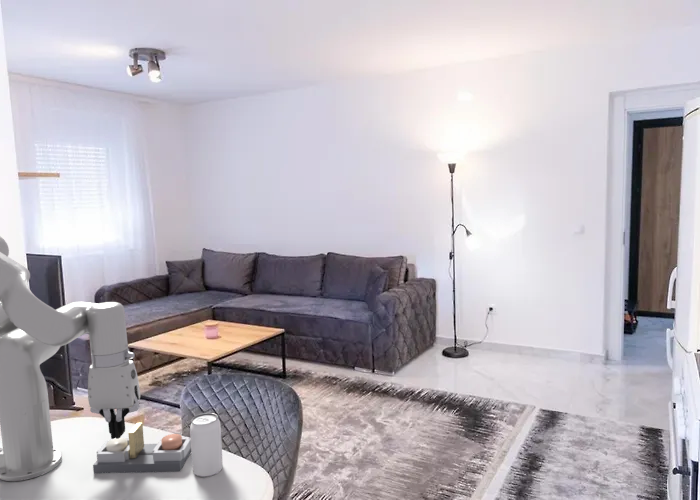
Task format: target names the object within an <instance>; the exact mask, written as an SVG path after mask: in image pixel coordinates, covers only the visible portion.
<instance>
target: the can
mask: <svg viewBox="0 0 700 500" xmlns="http://www.w3.org/2000/svg"><path fill="white" fill-rule="evenodd" d="M221 427H222V425H221V421H220V420H219V416H218V415H217V414H216V413H213V412H204V413H199V414H197V415H195V416H194V417H192V419H191V424H190V428H189V431H190V433H189V434H190V436H189V437H190V439H191V453H190V454H191V466H192V472H193V474H194V475H195V476H196V477H199V478H208V477H212V476H215V475H217V474H219V473H220V472H221V470H222V469H223V465H224V464H223V444H222V443H223V442H222V433H221V432H222V428H221Z"/></svg>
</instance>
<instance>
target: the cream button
mask: <svg viewBox="0 0 700 500" xmlns="http://www.w3.org/2000/svg"><path fill="white" fill-rule="evenodd" d="M109 440H110V439H109ZM109 440H108V441H109ZM127 446H128V443H127V439H126V438H125V437H120V438H119V439H116V438H114V439H113V440H110V441H109V442H107V444H106V447H107V452H111V451H124V450H125V449H126V448H127Z"/></svg>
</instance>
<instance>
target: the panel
mask: <svg viewBox="0 0 700 500" xmlns="http://www.w3.org/2000/svg"><path fill="white" fill-rule="evenodd" d="M126 439H127V443H128V446H127V448H126V449H125V450H124V451H111V452H107V447H106V444H107V442H109V441H110V440H113V439H111V438H110V439H109V440H106V441H105V442H104V443H103V445H101V446H100V448H98V449H97V451H96V460H95V462H94V463H93V464H92V466H93V467H92V469H93V470H92V471H93V474H95V475H96V474H126V473H127V474H128V473H129V474H132V473H135V474H136V473H141V474H142V473H171V472H172V473H173V472H174V473H176V472H180V473H181V471H182V468H183V467H184V466H185V464H186V462H187V460H188V459H189V456H191V454H192V453H191V437H190V436H182V447H181V448H180V449H178V450H162V442H161V440H162V439H160V440H159V441H158V442H157V443H144V448H143V449H142V451H141V452H140V453H139V454H138V456H137V457H136V458H130V447H129V437H128V438H126Z"/></svg>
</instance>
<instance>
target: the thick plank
mask: <svg viewBox="0 0 700 500" xmlns="http://www.w3.org/2000/svg"><path fill="white" fill-rule="evenodd" d="M128 438H129V447H130V458H136V457H137V456H138V454H139V453H140V452H141V451H142V449H143V448H144V444H145V439H144V425H143V422H136V424H135V425H134V426H132V428H131V429H130V430H129V431H128Z"/></svg>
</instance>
